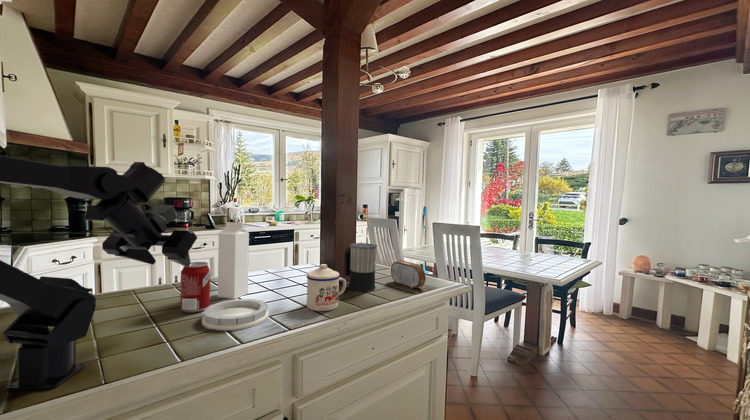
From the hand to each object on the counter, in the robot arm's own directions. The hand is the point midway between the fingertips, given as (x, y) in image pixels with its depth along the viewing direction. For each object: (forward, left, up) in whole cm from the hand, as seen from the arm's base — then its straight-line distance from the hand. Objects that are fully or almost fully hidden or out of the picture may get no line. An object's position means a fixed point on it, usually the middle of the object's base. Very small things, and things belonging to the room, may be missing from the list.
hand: (171, 264), depth 74 cm
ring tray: (+1, -15, -13) cm, 20 cm away
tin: (+28, -65, -14) cm, 72 cm away
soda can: (+8, -3, -14) cm, 16 cm away
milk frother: (+25, -44, -14) cm, 53 cm away
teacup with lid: (+9, -37, -14) cm, 40 cm away
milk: (+20, -9, -14) cm, 25 cm away
